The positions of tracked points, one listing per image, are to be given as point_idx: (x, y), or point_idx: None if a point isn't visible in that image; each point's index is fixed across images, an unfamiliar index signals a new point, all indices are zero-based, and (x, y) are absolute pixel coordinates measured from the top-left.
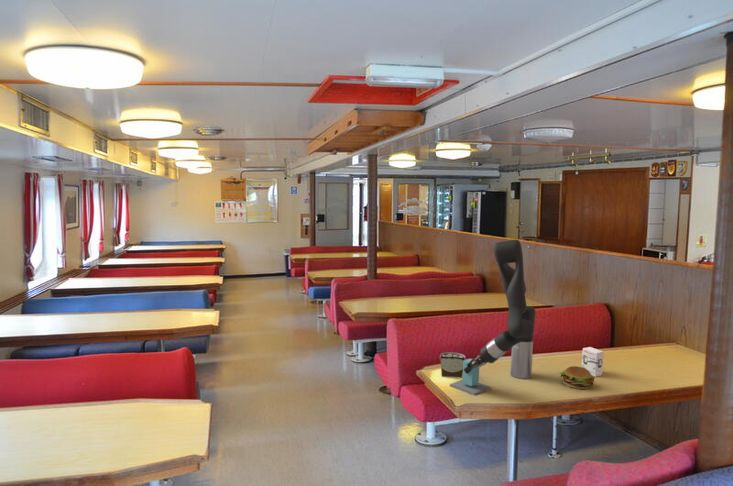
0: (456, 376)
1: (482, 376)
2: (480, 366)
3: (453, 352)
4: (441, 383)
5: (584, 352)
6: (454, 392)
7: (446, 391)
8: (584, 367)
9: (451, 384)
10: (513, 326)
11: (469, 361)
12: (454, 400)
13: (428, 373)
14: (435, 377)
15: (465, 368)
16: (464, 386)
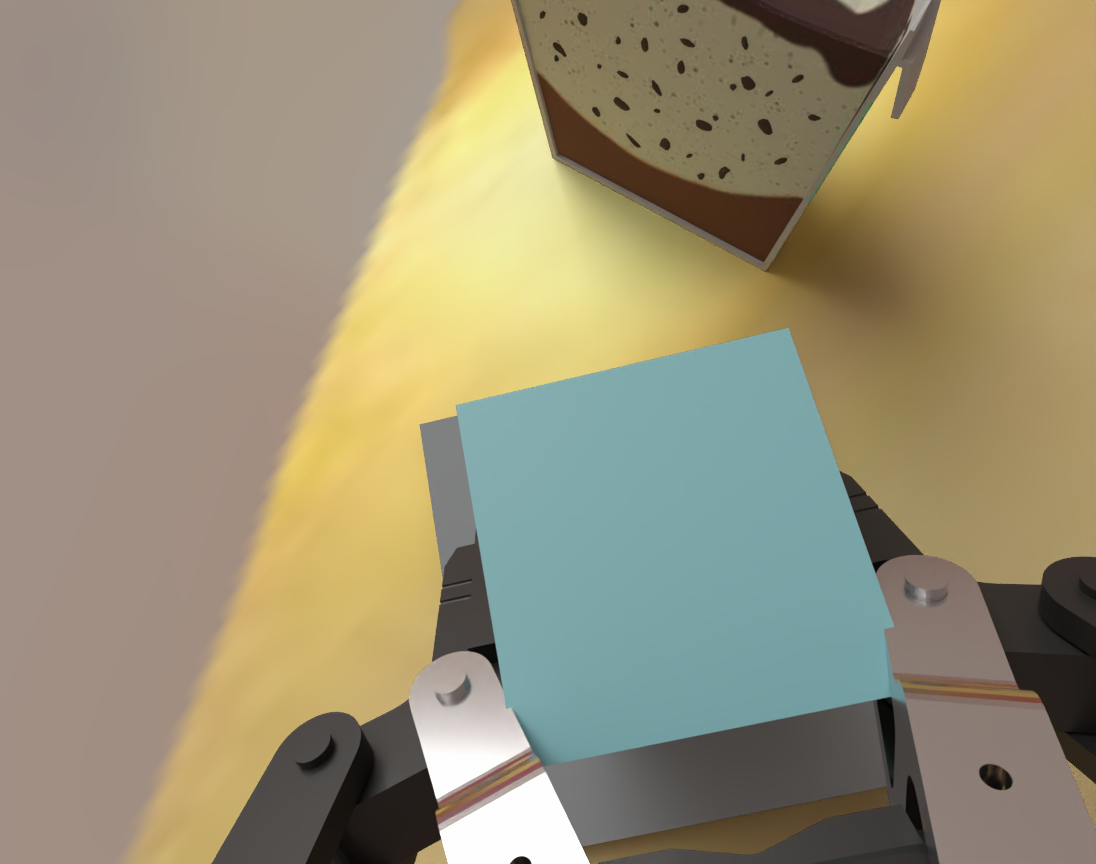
0: (704, 229)
1: (1087, 336)
2: (876, 704)
3: None
4: (401, 324)
5: None
6: (332, 627)
7: (272, 552)
8: None
9: (433, 439)
10: None
11: (574, 539)
12: (136, 852)
13: (480, 45)
14: (468, 158)
15: (475, 556)
16: None
